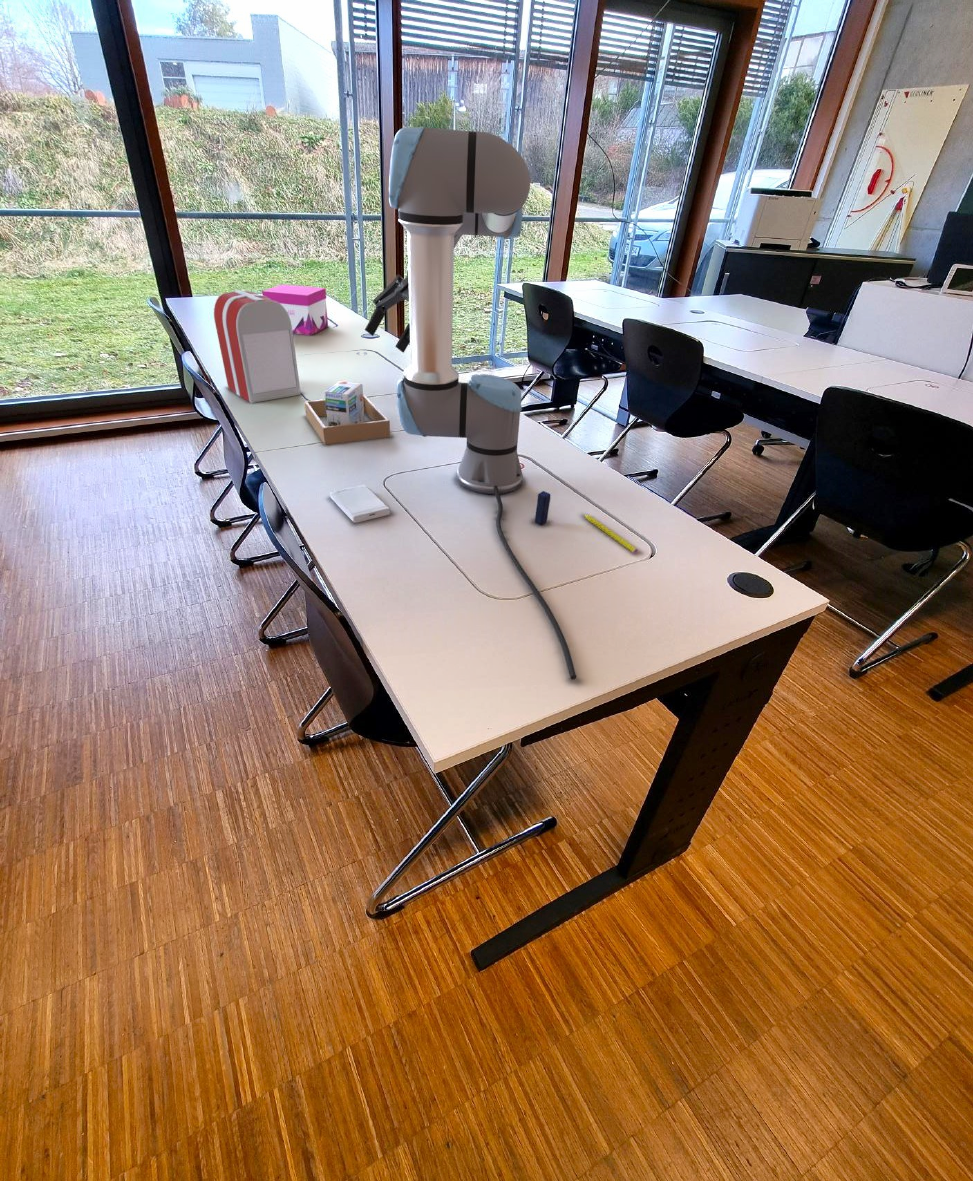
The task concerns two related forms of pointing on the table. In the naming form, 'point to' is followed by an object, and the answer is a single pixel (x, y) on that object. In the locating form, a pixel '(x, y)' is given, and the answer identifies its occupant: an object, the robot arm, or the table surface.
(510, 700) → the table surface
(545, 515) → the navy blue rectangular block
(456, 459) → the table surface
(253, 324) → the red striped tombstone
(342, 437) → the shallow wooden tray
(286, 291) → the decorative box
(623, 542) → the pencil
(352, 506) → the hard drive
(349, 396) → the light bulb box
